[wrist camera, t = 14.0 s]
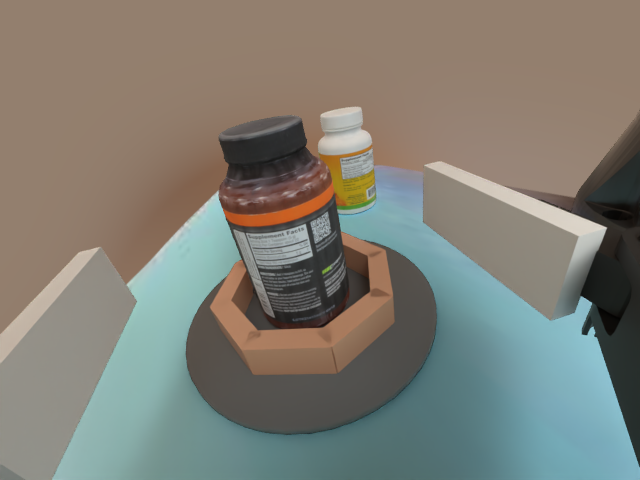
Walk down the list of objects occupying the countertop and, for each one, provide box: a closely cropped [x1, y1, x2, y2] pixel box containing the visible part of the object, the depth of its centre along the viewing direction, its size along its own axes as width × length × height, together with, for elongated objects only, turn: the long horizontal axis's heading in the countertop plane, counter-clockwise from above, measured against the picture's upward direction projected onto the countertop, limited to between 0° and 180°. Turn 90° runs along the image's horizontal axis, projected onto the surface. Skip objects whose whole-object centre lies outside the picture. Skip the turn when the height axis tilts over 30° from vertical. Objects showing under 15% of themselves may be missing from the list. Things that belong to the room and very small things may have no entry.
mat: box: [186, 240, 437, 435], centre depth 20 cm, size 16×16×1 cm
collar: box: [210, 232, 395, 375], centre depth 19 cm, size 11×11×2 cm
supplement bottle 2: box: [318, 107, 376, 214], centre depth 30 cm, size 5×5×10 cm
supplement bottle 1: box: [219, 115, 350, 329], centre depth 17 cm, size 6×6×11 cm
